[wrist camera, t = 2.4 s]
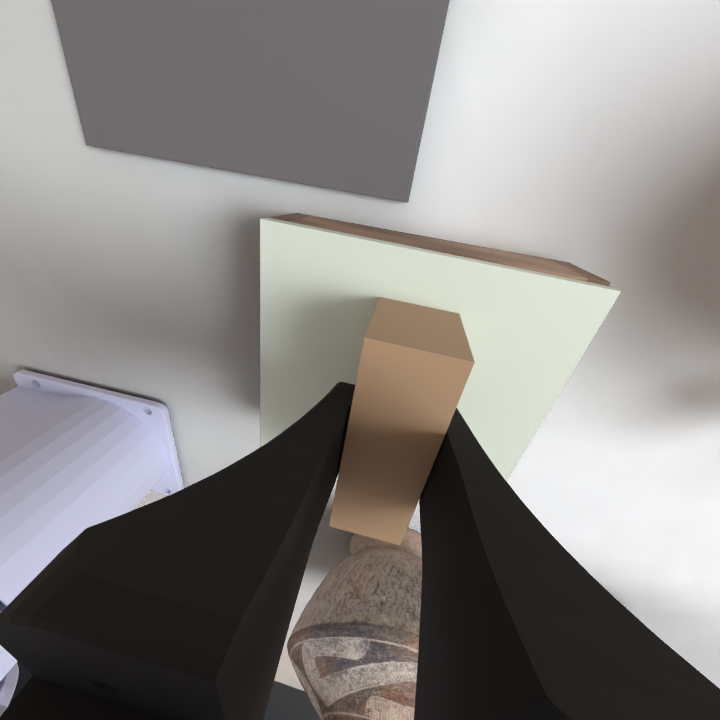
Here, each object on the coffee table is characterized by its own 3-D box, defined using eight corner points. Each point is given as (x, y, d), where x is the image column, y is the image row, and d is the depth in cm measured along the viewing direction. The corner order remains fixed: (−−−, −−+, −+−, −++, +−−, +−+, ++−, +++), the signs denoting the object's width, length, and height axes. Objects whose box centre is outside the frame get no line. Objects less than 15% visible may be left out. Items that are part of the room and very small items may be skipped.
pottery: (348, 470, 18) (251, 849, 8) (737, 622, 18) (1142, 1171, 8) (303, 562, 24) (211, 850, 13) (601, 676, 24) (737, 1039, 14)
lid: (271, 441, 15) (223, 523, 11) (276, 216, 10) (193, 229, 6) (479, 494, 14) (500, 599, 10) (598, 280, 9) (716, 338, 6)
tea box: (291, 411, 17) (266, 453, 14) (301, 212, 12) (265, 218, 9) (473, 453, 16) (484, 507, 13) (563, 260, 11) (610, 282, 9)
